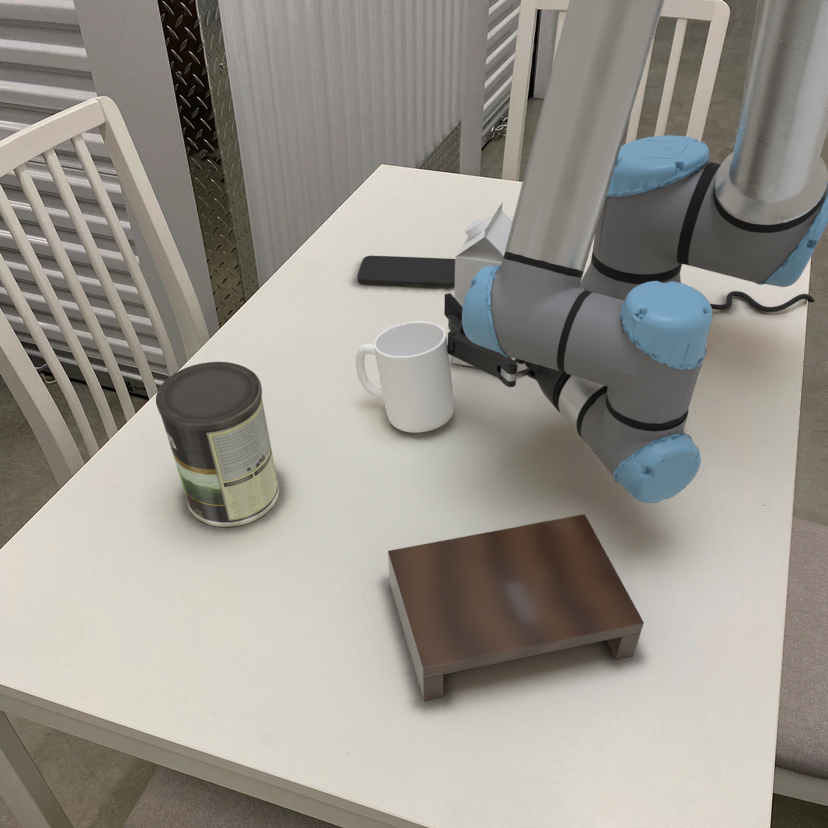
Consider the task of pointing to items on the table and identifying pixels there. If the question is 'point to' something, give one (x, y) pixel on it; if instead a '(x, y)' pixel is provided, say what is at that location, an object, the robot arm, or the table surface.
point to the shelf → (509, 598)
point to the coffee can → (220, 442)
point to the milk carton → (480, 252)
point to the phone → (407, 271)
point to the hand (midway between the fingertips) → (498, 291)
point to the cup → (411, 375)
